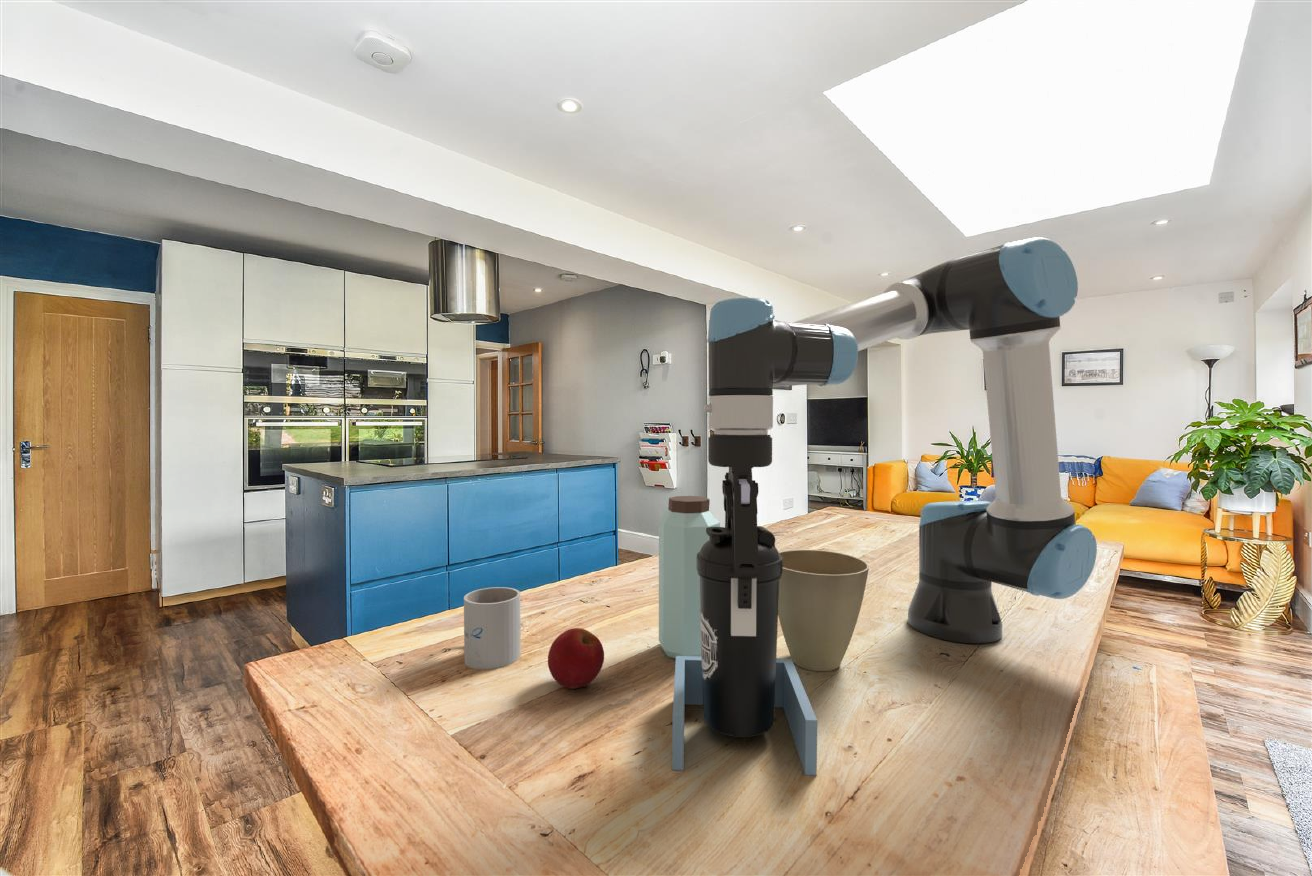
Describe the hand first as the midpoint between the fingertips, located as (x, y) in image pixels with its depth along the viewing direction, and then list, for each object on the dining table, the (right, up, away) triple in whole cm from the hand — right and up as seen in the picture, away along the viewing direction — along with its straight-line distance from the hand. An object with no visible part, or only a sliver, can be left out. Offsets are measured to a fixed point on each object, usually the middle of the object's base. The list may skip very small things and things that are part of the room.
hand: (739, 617), depth 68 cm
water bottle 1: (-5, -13, +25) cm, 29 cm away
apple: (-21, -14, +13) cm, 29 cm away
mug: (-37, -13, +24) cm, 46 cm away
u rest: (0, -14, +1) cm, 14 cm away
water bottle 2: (0, -12, +1) cm, 12 cm away
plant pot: (+15, -14, +21) cm, 29 cm away
